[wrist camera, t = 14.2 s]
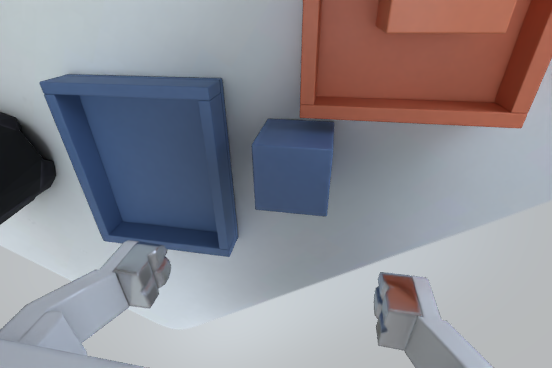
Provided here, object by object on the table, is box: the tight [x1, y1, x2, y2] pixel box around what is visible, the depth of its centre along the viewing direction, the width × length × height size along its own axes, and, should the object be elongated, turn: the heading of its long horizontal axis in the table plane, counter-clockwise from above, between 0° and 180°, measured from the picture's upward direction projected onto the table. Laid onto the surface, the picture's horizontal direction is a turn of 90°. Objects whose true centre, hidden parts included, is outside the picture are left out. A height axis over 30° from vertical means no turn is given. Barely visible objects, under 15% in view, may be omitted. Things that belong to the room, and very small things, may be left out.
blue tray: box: [40, 74, 238, 257], centre depth 23 cm, size 14×12×2 cm
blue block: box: [252, 119, 334, 216], centre depth 19 cm, size 4×4×4 cm
